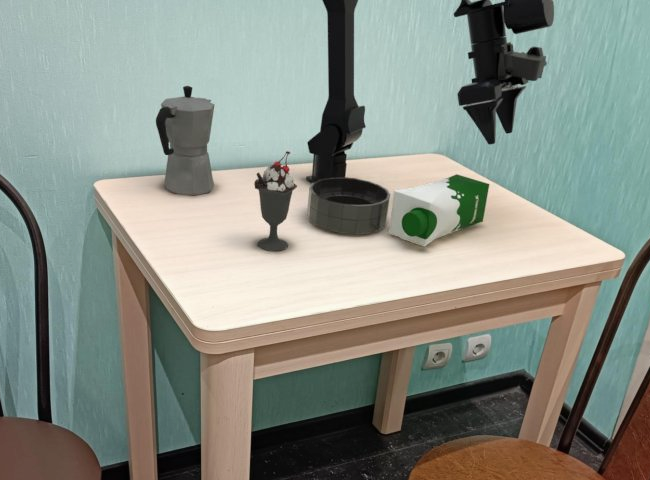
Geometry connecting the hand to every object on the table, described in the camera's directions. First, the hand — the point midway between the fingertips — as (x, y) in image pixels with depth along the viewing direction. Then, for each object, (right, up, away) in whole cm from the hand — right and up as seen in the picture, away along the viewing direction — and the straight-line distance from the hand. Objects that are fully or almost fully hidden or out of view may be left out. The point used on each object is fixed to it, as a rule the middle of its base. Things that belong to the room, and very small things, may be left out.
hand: (500, 138), depth 130 cm
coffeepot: (-56, -6, +11) cm, 57 cm away
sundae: (-39, -20, -7) cm, 44 cm away
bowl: (-26, -13, +5) cm, 30 cm away
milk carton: (-4, -8, +8) cm, 12 cm away
